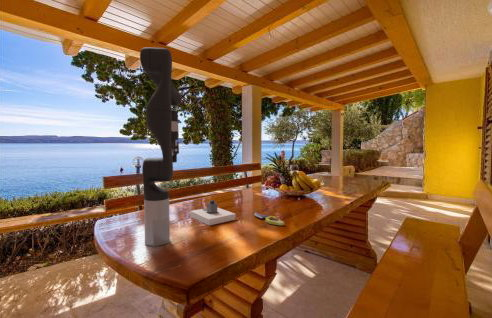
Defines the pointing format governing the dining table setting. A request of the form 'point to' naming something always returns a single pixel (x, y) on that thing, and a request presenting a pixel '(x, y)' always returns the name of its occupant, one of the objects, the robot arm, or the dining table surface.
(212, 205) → the gray knobbed square peg
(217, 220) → the socket plate
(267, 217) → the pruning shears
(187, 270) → the dining table surface
